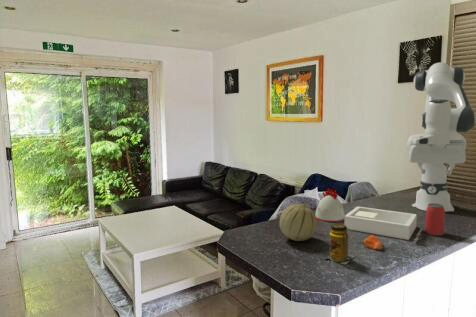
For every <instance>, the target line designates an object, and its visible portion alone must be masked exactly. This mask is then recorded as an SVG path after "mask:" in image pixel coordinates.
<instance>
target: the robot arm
mask: <svg viewBox="0 0 476 317" xmlns="http://www.w3.org/2000/svg"><path fill="white" fill-rule="evenodd" d="M465 80H466V74H465V71H464V69H463V68H462V67H458V66H457V67H456V66H455V67H450V65H449V64H447V63H445V62H436V63H433V64H432V65H431V66H429V68H428V69H423V70H420V71H417V72H416V73H415V75H414V77H413V86H414V89H416V91H420V92H425V91H426V98H425V102H424V113H422V114H421V115H422V120H421V121H422V124H421V127H422V128H423V129H424V133H416V134H411V135H410V136H409V137H408V138H407V140H406V148H407V150H408V156H407V160H408V161H409V163H411V164H413V163H416V164H417V167H418V169H419V174H420V175H421V180H420V184H419V187H420V189H419V190H417V191H416V195H415V196H416V200H415V202H414V203H412V204H411V207H413V208H417V209H418V210H422V211H425V212H426V209H427V207H428V204H432V203H434V204H441V205H443V206H444V209H445V213H446V212H447V213H448V212H455V208H454V206H453V205H452V203H451V202H452V201H451V194H450V193H449V192H448V183H447V175H450V176H451V175H452V171H453V170H454V168H455V167H456V164H464V163H465V162H466V160H467V157H466V148H467V140H466V138H465V137H464V136H463V135H462V134H461V133H464V134H465V133H468V132H470V131H471V130H473V128H474V127H475V125H476V114H475V113H474V110H473V108H472V107H471V104H470V102H469V100H468V97H467V94H466V92H465V89H464V88H463V85H464V83H465ZM451 102H452V103H454V105H456V108H452V106H451ZM445 164H448V166H449V167H448V169H447V166H446V165H445Z"/></svg>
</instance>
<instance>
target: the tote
mask: <svg viewBox="0 0 476 317" xmlns="http://www.w3.org/2000/svg"><path fill="white" fill-rule="evenodd" d="M359 211H365V212H372V213H378V220H374V219H368V218H361V217H355V216H354V215H355V214H356V213H357V212H359ZM417 219H418V216H417V214H415V213H411V212H410V213H409V212H401V211H394V210H387V209H379V208H373V207H366V206H365V207H364V206H355V207H354V209H352V210H351V211H348V213H346V214H345V216H344V220H343V221H344V223H343V225H345V226H346V227H347V230H351V231H357V232H361V233H367V234H372V235H378V236H384V237H390V238H396V239H401V240H402V239H403V240H406V241H407V240H408V241H409V240H410V238H411V237H412V235H413V234H414V231H416V228H417Z"/></svg>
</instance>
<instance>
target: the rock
mask: <svg viewBox="0 0 476 317" xmlns="http://www.w3.org/2000/svg"><path fill="white" fill-rule="evenodd" d="M363 245H364V247H366V248H370V249H372V250H376V251H377V250H379V251H381V250H382V249H383V244H382V243H381V241H380V239H379V238H378V237H377V236H375V235H374V234H372V235H369V236H368V237H366V238H365V239H364V240H363Z"/></svg>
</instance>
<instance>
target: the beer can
mask: <svg viewBox="0 0 476 317" xmlns="http://www.w3.org/2000/svg"><path fill="white" fill-rule="evenodd" d="M445 220H446V212H445V209H444V206H443V205H441V204H434V203H432V204H428V207H427V209H426V211H425V228H424V229H425V232H426V234H428V235H431V236H436V237H439V236H440V237H441V236H443V235H444V234H445Z"/></svg>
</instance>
